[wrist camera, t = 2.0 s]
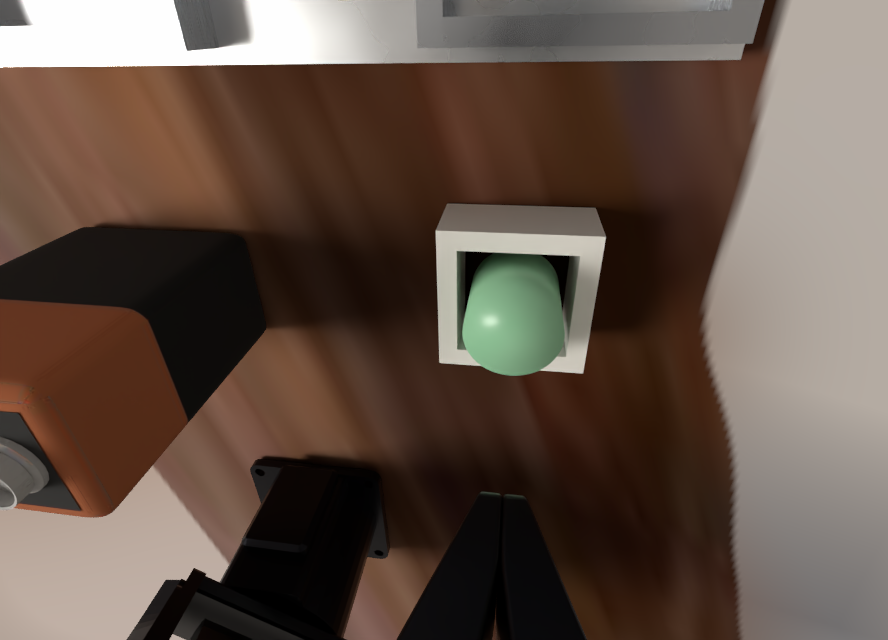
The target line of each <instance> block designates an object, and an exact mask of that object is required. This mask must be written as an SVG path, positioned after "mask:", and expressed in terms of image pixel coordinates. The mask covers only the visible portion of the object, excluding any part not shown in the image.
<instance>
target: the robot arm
mask: <svg viewBox="0 0 888 640" xmlns="http://www.w3.org/2000/svg"><path fill="white" fill-rule="evenodd" d="M250 471H251V474H252V477H253V480H254V483H255V486H256V489H257V492H258V495H259V498H260V501H261V505H260V507H259V509H258V511H257V513H256V514H255V516H254V518H253V520H252V522H251V524H250V525H249V527H248V529H247V531H246V533H245V535H244V536H243V538H242V542H241V544H240V546H239V548H238V550H237V552H236V553H235V555H234V557H233V559H232V561H231V563H230V564H229V566H228V569H227V570H226V572H225V574H224V575H223V578H222V579H221V581H220V583H219V582H217V581H215V580H212V579H211V578H208V577H206V576H205V575H206V574H205V573H204V572H202V571H199V570H197V569H195V568H194V569H193V571H192V572H191V574H190V576H189V577H188V579H187V580H186V581H185V580H183V579H181V580H166V581H165V582H164V584H163V585H162V587H161V588H160V590H159V591H158V593H157V595H156V596H155V597H154V599H153V601H152V602H151V604H150V605H149V607H148V608H147V610H146V611H145V613H144V615H143V616H142V618H141V619H140V621H139V622H138V624H137V625H136V627H135V628H134V630H133V631H132V633H131V634H130V636H129V637H128V639H127V640H169V639H170V637H171V635H172V634H174V635H177V636H179V637H181V638H184V639H186V640H346V639H344V638H343V637H344V633H345V630H346V627H347V623H348V620H349V616H350V613H351V610H352V606H353V603H354V600H355V596H356V593H357V590H358V586H359V583H360V579H361V576H362V573H363V569H364V566H365V563H366V559H367V557H372V558H379V559H383V558H386V557H387V556H388V553H389V549H390V545H389V537H388V530H387V522H386V514H385V506H384V499H383V491H382V483H381V478H380V476H379V475H378V474H377V473H376V472H374V471H369V470H360V469H351V468H341V467H332V466H322V465H313V464H303V463H294V462H284V461H275V460H265V459H258V460H255V462H254V464H253V465H252V467H251V469H250ZM496 597H497V599H496ZM495 610H496V640H587V639H586V636H585V634H584V632H583V629H582V627H581V625H580V622H579V620H578V618H577V615H576V613H575V611H574V608H573V606H572V603H571V601H570V599H569V596H568V594H567V592H566V589H565V587H564V585H563V582H562V580H561V578H560V575H559V573H558V570H557V568H556V566H555V563H554V561H553V559H552V556H551V554H550V552H549V549H548V547H547V545H546V542H545V540H544V537H543V535H542V533H541V530H540V528H539V526H538V523H537V521H536V519H535V516H534V514H533V512H532V509H531V507H530V505H529V502H528V500H527V499H526V497H524V496H521V495H512V494H505V495H504V496H503V498H502V496H501V494H499V493H493V492H484V491H483V492H480V493H479V494H478V495H477V497H476V499H475V500H474V502H473V504H472V506H471V508H470V509H469V511H468V513H467V515H466V516H465V518H464V520H463V522H462V524H461V525H460V527H459V529H458V531H457V533H456V534H455V536H454V538H453V540H452V541H451V543H450V545H449V547H448V549H447V550H446V552H445V554H444V556H443V558H442V559H441V561H440V563H439V565H438V566H437V568H436V570H435V572H434V574H433V575H432V577H431V579H430V581H429V583H428V584H427V586H426V588H425V590H424V591H423V593H422V595H421V597H420V599H419V600H418V602H417V604H416V606H415V608H414V609H413V611H412V613H411V615H410V616H409V618H408V620H407V622H406V624H405V625H404V627H403V629H402V631H401V633H400V634H399V636H398V638H397V640H492V637H493V630H494V622H495Z"/></svg>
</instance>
